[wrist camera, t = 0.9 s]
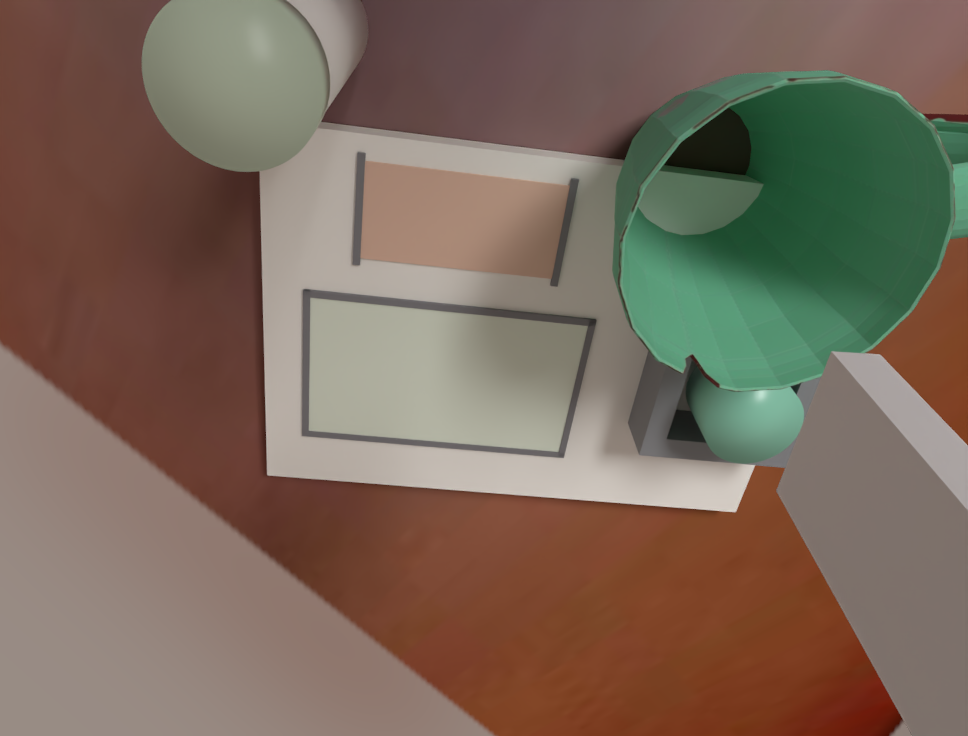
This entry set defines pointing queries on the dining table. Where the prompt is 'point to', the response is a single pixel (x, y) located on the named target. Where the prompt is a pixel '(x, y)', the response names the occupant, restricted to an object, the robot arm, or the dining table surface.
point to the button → (744, 419)
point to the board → (477, 323)
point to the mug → (793, 228)
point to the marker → (249, 74)
